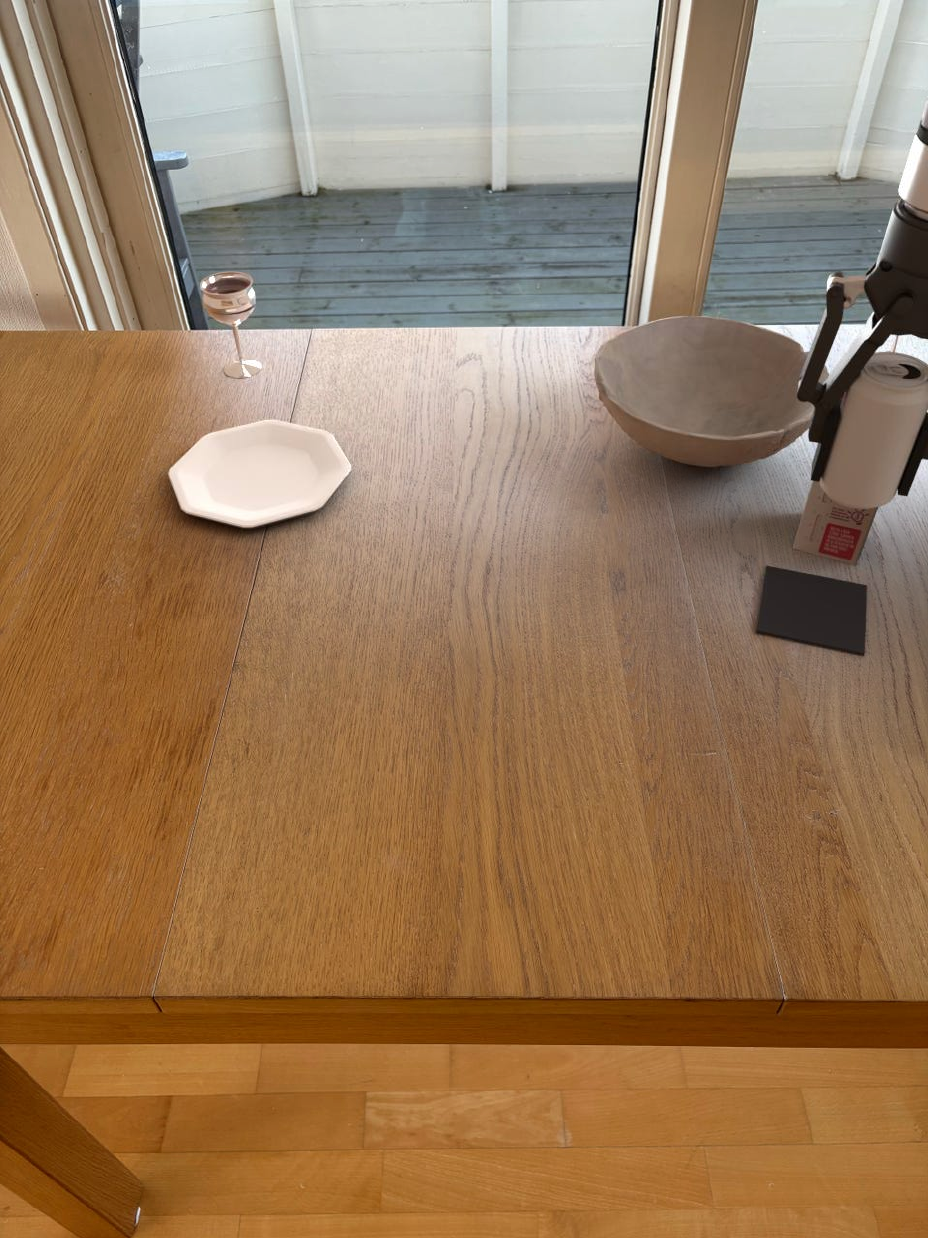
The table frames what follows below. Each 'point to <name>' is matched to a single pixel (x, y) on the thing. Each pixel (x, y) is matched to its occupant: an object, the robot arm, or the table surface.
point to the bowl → (705, 389)
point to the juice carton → (833, 524)
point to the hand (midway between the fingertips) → (858, 478)
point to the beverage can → (876, 431)
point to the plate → (259, 474)
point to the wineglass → (231, 311)
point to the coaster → (813, 610)
